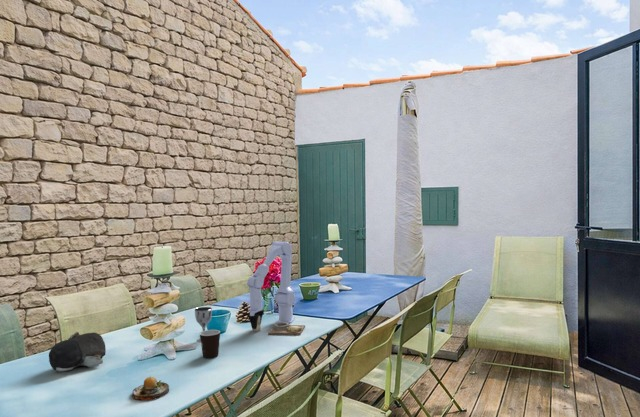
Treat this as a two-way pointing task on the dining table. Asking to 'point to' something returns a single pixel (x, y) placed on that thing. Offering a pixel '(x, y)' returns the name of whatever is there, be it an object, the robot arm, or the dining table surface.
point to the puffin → (77, 352)
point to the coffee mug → (210, 343)
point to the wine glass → (203, 317)
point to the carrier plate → (286, 329)
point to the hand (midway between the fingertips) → (256, 326)
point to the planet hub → (257, 325)
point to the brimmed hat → (150, 389)
